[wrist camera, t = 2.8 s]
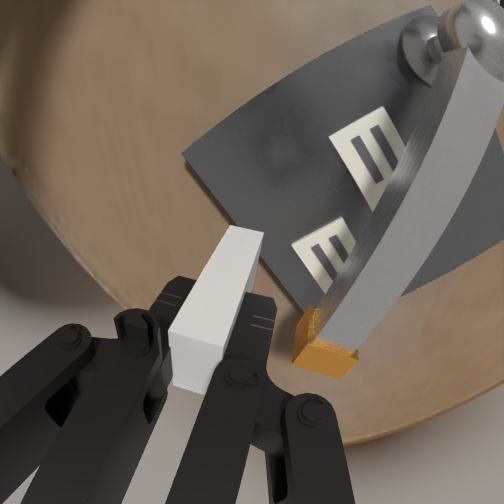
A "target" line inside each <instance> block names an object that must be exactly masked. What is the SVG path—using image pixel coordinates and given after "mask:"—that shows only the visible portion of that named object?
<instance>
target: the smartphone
mask: <svg viewBox="0 0 504 504" xmlns="http://www.w3.org/2000/svg"><path fill="white" fill-rule="evenodd" d="M492 1H494V2H495V3H497V4H498V5H500V6H501V7H502V8H503V9H504V0H492Z"/></svg>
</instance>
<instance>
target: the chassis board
mask: <svg viewBox="0 0 504 504" xmlns="http://www.w3.org/2000/svg"><path fill="white" fill-rule="evenodd" d="M439 18H440V17H438V15H437V14H436V12H435V11H434V9H433V8H432V7H431V5H429V6H426V7H424V8H421V9H418V10H416V11H413V12H411V13H408V14H405V15H403V16H401V17H398V18H396V19H393V20H391V21H389V22H387V23H384V24H382V25H380V26H378V27H375V28H373V29H371V30H369V31H367V32H365V33H363V34H361V35H359V36H357V37H355V38H353V39H351V40H349V41H347V42H345V43H343V44H341V45H339V46H337V47H336V48H334V49H332V50H330V51H328V52H326V53H325V54H323V55H321V56H319V57H318V58H316V59H314V60H312V61H311V62H309V63H307V64H306V65H304V66H302V67H301V68H299V69H297V70H296V71H294V72H292V73H291V74H289V75H288V76H286V77H284V78H283V79H281V80H280V81H278V82H277V83H275V84H274V85H272V86H271V87H269V88H268V89H266V90H265V91H263V92H262V93H260V94H259V95H257V96H256V97H254V98H253V99H251V100H250V101H249V102H247V103H246V104H244V105H243V106H242V107H240V108H239V109H237V110H236V111H235V112H233V113H232V114H231V115H229V116H228V117H226V118H225V119H224V120H223V121H221V122H220V123H219V124H217V125H216V126H215V127H213V128H212V129H211V130H210V131H208V132H207V133H206V134H204V135H203V136H202V137H201V138H199V139H198V140H197V141H196V142H194V143H193V144H192V145H191V146H190V147H188V148H187V149H186V150H185V151H184V152H182V153H181V154H182V155H183V156H184V158H185V159H186V160H187V161H188V163H189V164H190V165H191V167H192V168H193V169H194V170H195V172H196V173H197V174H198V176H199V177H200V178H201V179H202V181H203V182H204V183H205V185H206V186H207V187H208V188H209V190H210V191H211V192H212V194H213V195H214V196H215V198H216V199H217V200H218V201H219V203H220V204H221V205H222V207H223V208H224V209H225V210H226V212H227V213H228V214H229V216H230V217H231V218H232V220H233V221H234V222H235V223H236V225H237V226H238V227H241V228H246V229H250V230H255V231H259V232H263V233H264V235H263V240H262V245H261V250H260V256H261V257H262V259H263V260H264V261H265V262H266V264H267V265H268V266H269V268H270V269H271V270H272V272H273V273H274V274H275V275H276V277H277V278H278V279H279V281H280V282H281V283H282V285H283V286H284V287H285V288H286V290H287V291H288V292H289V294H290V295H291V296H292V298H293V299H294V300H295V302H296V303H297V304H298V305H299V307H300V308H301V309H302V311H303V312H304V313H305V311H306V310H307V308H308V307H309V305H311V306H313V307H316V308H317V306H318V305H319V303H320V302H321V300H322V298H323V297H324V295H325V293H324V292H323V290H322V289H321V288H320V286H319V285H318V283H317V282H316V280H315V279H314V277H313V276H312V274H311V273H310V272H309V270H308V269H307V267H306V266H305V264H304V263H303V261H302V260H301V259H300V257H299V256H298V254H297V253H296V251H295V250H294V249H293V247H292V246H291V245H292V243H294V242H296V241H298V240H299V239H301V238H303V237H305V236H307V235H309V234H311V233H312V232H314V231H316V230H318V229H320V228H322V227H324V226H326V225H327V224H329V223H331V222H333V221H335V220H337V219H338V218H340V217H342V218H343V220H344V221H345V223H346V225H347V226H348V228H349V230H350V232H351V233H352V235H353V237H354V239H355V240H356V242H357V240H358V238H359V237H360V235H361V233H362V231H363V230H364V228H365V226H366V224H367V222H368V220H369V219H370V217H371V215H372V213H373V212H372V210H371V208H370V206H369V205H368V203H367V201H366V199H365V197H364V195H363V194H362V192H361V190H360V188H359V186H358V185H357V183H356V181H355V179H354V178H353V176H352V174H351V173H350V171H349V169H348V168H347V166H346V164H345V163H344V161H343V159H342V158H341V156H340V154H339V153H338V151H337V150H336V148H335V146H334V145H333V143H332V142H331V140H330V139H329V136H330V135H332V134H334V133H336V132H337V131H339V130H341V129H343V128H344V127H346V126H348V125H350V124H351V123H353V122H355V121H357V120H358V119H360V118H362V117H364V116H365V115H367V114H369V113H371V112H373V111H375V110H376V109H378V108H380V107H382V106H383V107H384V109H385V110H386V112H387V114H388V116H389V117H390V119H391V121H392V123H393V125H394V126H395V128H396V130H397V132H398V134H399V136H400V138H401V139H402V141H403V143H404V145H405V147H406V145H407V143H408V141H409V138H410V136H411V134H412V132H413V129H414V127H415V125H416V123H417V120H418V118H419V116H420V113H421V111H422V108H423V106H424V104H425V101H426V99H427V96H428V94H429V91H430V89H431V86H432V83H433V81H434V78H435V75H436V73H437V70H438V67H439V65H440V62H441V59H442V56H443V53H444V52H443V50H442V48H441V46H440V43H439V39H438V34H437V24H438V20H439ZM502 240H504V154H503V150H502V147H501V144H500V141H499V138H498V135H497V132H496V129H494V132H493V134H492V137H491V139H490V142H489V144H488V146H487V149H486V151H485V153H484V156H483V158H482V160H481V162H480V164H479V166H478V169H477V171H476V173H475V175H474V177H473V179H472V181H471V183H470V185H469V187H468V189H467V191H466V193H465V195H464V196H463V198H462V200H461V202H460V204H459V206H458V207H457V209H456V211H455V213H454V215H453V216H452V218H451V220H450V222H449V223H448V225H447V227H446V228H445V230H444V232H443V233H442V235H441V237H440V238H439V240H438V241H437V243H436V245H435V246H434V248H433V249H432V251H431V252H430V254H429V255H428V257H427V259H426V260H425V262H424V263H423V265H422V266H421V267H420V269H419V270H418V272H417V273H416V275H415V276H414V278H413V279H412V280H411V282H410V283H409V285H408V286H407V287H406V289H405V290H404V291H403V293H402V294H401V296H403V295H405V294H407V293H409V292H411V291H413V290H415V289H417V288H419V287H421V286H423V285H425V284H427V283H429V282H431V281H433V280H435V279H437V278H438V277H440V276H442V275H444V274H446V273H448V272H450V271H451V270H453V269H455V268H457V267H459V266H460V265H462V264H464V263H466V262H467V261H469V260H471V259H473V258H474V257H476V256H478V255H479V254H481V253H483V252H484V251H486V250H488V249H489V248H491V247H492V246H494V245H496V244H497V243H499V242H500V241H502ZM401 296H400V297H401Z"/></svg>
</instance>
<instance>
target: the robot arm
mask: <svg viewBox="0 0 504 504" xmlns="http://www.w3.org/2000/svg"><path fill="white" fill-rule="evenodd" d="M263 235H264V233H263V232H259V231H255V230H250V229H246V228H241V227H236V226H232V225H230V226H229V228H228V230H227V231H226V233H225V235H224V236H223V238H222V240H221V241H220V243H219V245H218V246H217V248H216V250H215V251H214V253H213V255H212V256H211V258H210V260H209V261H208V263H207V265H206V266H205V268H204V270H203V271H202V273H201V275H200V276H199V278H198V280H193V279H190V278H186V277H182V276H177V277H176V278H174V279H173V280H171V281H169V282H168V283H167V285H166V286H165V287H164V289H163V290H162V293H160V295H159V296H158V297H157V300H156V301H155V302H154V303H153V305H152V306H151V308H150V309H149V310H148V311H147V310H144V309H138V308H135V309H127V310H125V311H122V312H120V313H119V314H118V315H117V316H115V317H114V322H115V326H116V330H117V335H118V338H117V339H107V338H97V337H91V334H90V332H89V331H88V329H87V328H86V327H84V326H82V325H80V324H73V323H72V324H67V325H64V326H62V327H61V328H59V329H57V330H56V331H55V332H54V333H52V334H51V335H50V336H49V337H47V338H46V339H45V340H44V341H42V342H41V343H40V344H39V345H37V346H36V347H35V348H34V349H33V350H31V351H30V352H29V353H27V354H26V355H25V356H24V357H23V358H21V359H20V360H19V361H18V362H17V363H15V364H14V365H13V366H12V367H11V368H10V369H8V370H7V371H6V372H5V373H4V374H2V375H1V376H0V504H2V503H3V502H4V501H5V500H6V499H7V498H8V497H9V496H10V495H11V494H12V493H13V492H14V491H15V490H16V489H17V488H18V487H19V486H20V485H21V484H22V483H23V482H24V481H25V480H26V479H27V478H28V477H29V476H30V475H31V474H32V473H33V472H34V471H35V470H36V469H37V467H39V468H38V470H37V472H36V474H35V476H34V478H33V480H32V482H31V484H30V486H29V488H28V489H27V492H26V494H25V495H24V498H23V500H22V502H21V504H121V503H122V500H123V498H124V496H125V494H126V491H127V489H128V487H129V484H130V482H131V479H132V477H133V475H134V473H135V470H136V468H137V466H138V463H139V461H140V459H141V456H142V454H143V452H144V449H145V447H146V445H147V443H148V440H149V438H150V436H151V434H152V431H153V429H154V427H155V424H156V422H157V420H158V418H159V415H160V413H161V411H162V409H163V406H164V404H165V402H166V400H167V394H168V393H167V387H168V385H169V383H170V381H171V379H172V382H173V386H177V387H180V388H183V389H186V390H189V391H192V392H195V393H199V394H202V395H205V397H204V400H203V402H202V405H201V408H200V410H199V413H198V416H197V419H196V422H195V424H194V427H193V430H192V432H191V435H190V438H189V440H188V443H187V446H186V449H185V452H184V454H183V457H182V460H181V462H180V465H179V468H178V470H177V473H176V476H175V478H174V481H173V484H172V487H171V489H170V492H169V495H168V497H167V500H166V503H165V504H235V503H236V499H237V495H238V491H239V488H240V484H241V480H242V476H243V472H244V468H245V464H246V459H247V455H248V451H249V447H250V444H251V445H253V446H255V447H257V448H259V449H261V450H263V451H264V452H265V458H266V470H267V482H268V495H269V504H355V500H354V495H353V491H352V486H351V480H350V476H349V471H348V467H347V462H346V457H345V453H344V448H343V444H342V439H341V435H340V431H339V426H338V422H337V418H336V414H335V411H334V409H333V407H332V405H331V404H330V403H329V402H328V401H327V400H326V399H325V398H323V397H321V396H319V395H317V394H311V393H304V394H299V395H297V396H293V395H291V394H289V393H287V392H286V391H284V390H282V389H280V388H279V387H277V386H276V385H275V384H274V383H273V382H272V381H271V380H270V378H269V376H268V374H267V370H266V363H267V358H268V353H269V348H270V343H271V338H272V333H273V328H274V323H275V318H276V312H277V307H276V305H275V302H274V299H273V298H270V297H266V296H262V295H257V294H253V293H251V291H252V288H253V285H254V281H255V276H256V271H257V266H258V260H259V255H260V250H261V245H262V240H263ZM40 464H41V465H40ZM39 465H40V466H39Z"/></svg>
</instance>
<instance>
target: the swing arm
mask: <svg viewBox="0 0 504 504" xmlns="http://www.w3.org/2000/svg"><path fill="white" fill-rule="evenodd" d="M437 34H438V39H439V43H440V46H441V48H442V50H443V52H444V53H443V56H442V59H441V62H440V65H439V67H438V70H437V73H436V75H435V78H434V81H433V83H432V86H431V89H430V91H429V94H428V96H427V99H426V101H425V104H424V106H423V108H422V111H421V113H420V116H419V118H418V120H417V123H416V125H415V127H414V129H413V132H412V134H411V136H410V138H409V141H408V143H407V145H406V147H405V149H404V151H403V154H402V156H401V158H400V160H399V162H398V164H397V166H396V168H395V170H394V172H393V174H392V176H391V178H390V180H389V182H388V184H387V186H386V188H385V190H384V192H383V194H382V196H381V198H380V200H379V202H378V204H377V206H376V207H375V209H374V211H373V213H372V215H371V217H370V219H369V220H368V222H367V224H366V226H365V228H364V230H363V231H362V233H361V235H360V237H359V238H358V240H357V242H356V244H355V245H354V247H353V249H352V251H351V252H350V254H349V256H348V257H347V259H346V261H345V263H344V264H343V266H342V268H341V269H340V271H339V273H338V274H337V276H336V278H335V279H334V281H333V282H332V284H331V286H330V287H329V289H328V290H327V292H326V294H325V295H324V297H323V298H322V300H321V302H320V303H319V305H318V306H317V308H316V307H313V306H311V305H309V307H308V308H307V310H306V311H305V313H304V315H303V316H302V318H301V319H300V321H299V322H298V324H297V326H296V331H295V341H294V350H293V358H292V365H294V366H298V367H301V368H304V369H307V370H311V371H314V372H318V373H321V374H324V375H328V376H332V377H335V378H339V379H340V378H341V377H342V376H343V375H344V374H345V373H346V372H347V371H348V370H349V369H350V368H351V367H352V366H353V365H354V364H355V363H356V362H357V361H358V350H357V348H358V347H359V346H360V345H361V344H362V343H363V342H364V340H365V339H366V338H367V337H368V336H369V335H370V333H371V332H372V331H373V330H374V329H375V327H376V326H377V325H378V324H379V322H380V321H381V320H382V319H383V318H384V316H385V315H386V314H387V312H388V311H389V310H390V309H391V307H392V306H393V305H394V303H395V302H396V301H397V299H398V298H399V297H400V296H401V294H402V293H403V291H404V290H405V289H406V287H407V286H408V285H409V283H410V282H411V280H412V279H413V278H414V276H415V275H416V273H417V272H418V270H419V269H420V267H421V266H422V265H423V263H424V262H425V260H426V259H427V257H428V255H429V254H430V252H431V251H432V249H433V248H434V246H435V245H436V243H437V241H438V240H439V238H440V237H441V235H442V233H443V232H444V230H445V228H446V227H447V225H448V223H449V222H450V220H451V218H452V216H453V215H454V213H455V211H456V209H457V207H458V206H459V204H460V202H461V200H462V198H463V196H464V195H465V193H466V191H467V189H468V187H469V185H470V183H471V181H472V179H473V177H474V175H475V173H476V171H477V169H478V166H479V164H480V162H481V160H482V158H483V156H484V153H485V151H486V149H487V146H488V144H489V142H490V139H491V137H492V134H493V132H494V129H495V127H496V124H497V121H498V119H499V116H500V113H501V110H502V108H503V105H504V9H503V8H502V7H501V6H500V5H498V4H497V3H495V2H494V1H492V0H466V1H464V2H461V3H459V4H457V5H455V6H454V7H452V8H450V9H448V10H446V11H444V12H443V13H442V15H441V16H440V18H439V20H438V24H437Z"/></svg>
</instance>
